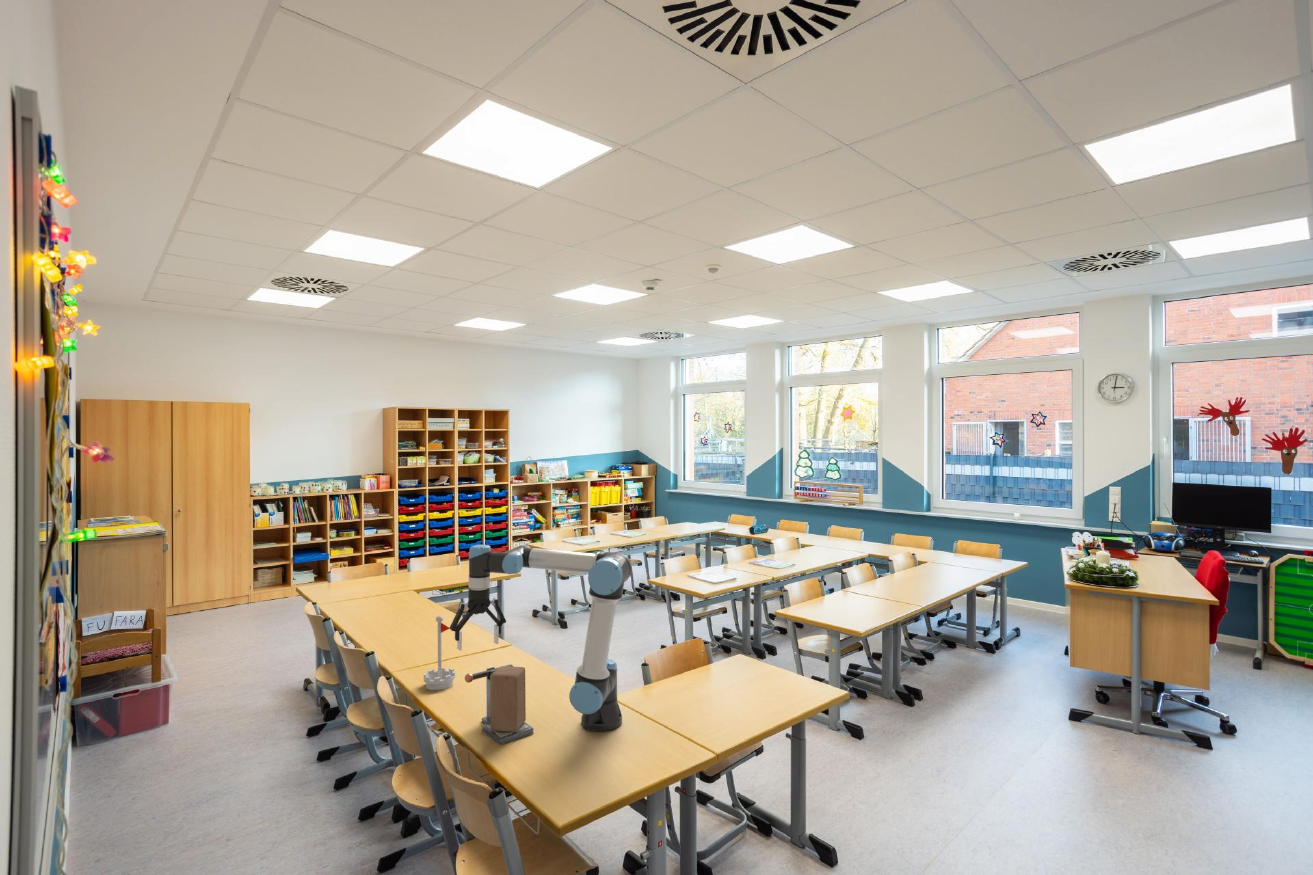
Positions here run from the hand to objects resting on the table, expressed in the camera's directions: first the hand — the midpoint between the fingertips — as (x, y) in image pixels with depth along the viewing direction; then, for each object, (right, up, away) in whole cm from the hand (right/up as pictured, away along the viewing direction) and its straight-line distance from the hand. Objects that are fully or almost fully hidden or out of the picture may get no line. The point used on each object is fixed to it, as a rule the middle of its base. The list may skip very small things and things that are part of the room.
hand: (478, 646), depth 232 cm
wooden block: (+12, -28, -3) cm, 31 cm away
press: (+9, -30, 0) cm, 31 cm away
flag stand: (-29, -31, +43) cm, 60 cm away
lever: (+3, -16, +6) cm, 17 cm away
